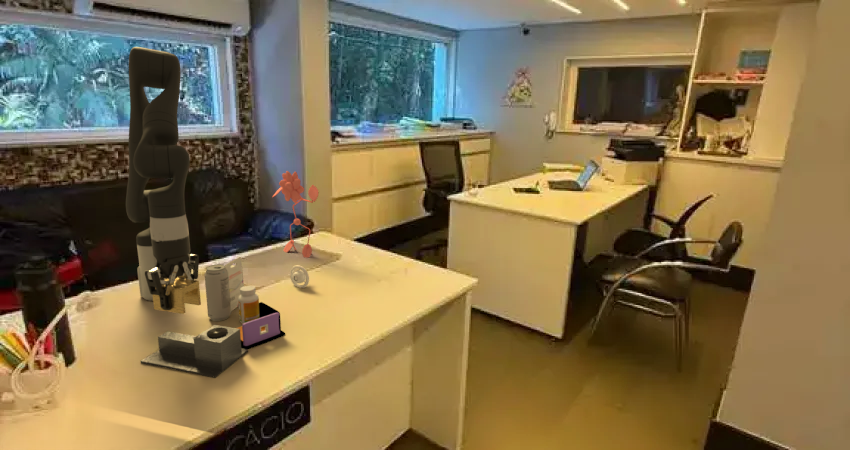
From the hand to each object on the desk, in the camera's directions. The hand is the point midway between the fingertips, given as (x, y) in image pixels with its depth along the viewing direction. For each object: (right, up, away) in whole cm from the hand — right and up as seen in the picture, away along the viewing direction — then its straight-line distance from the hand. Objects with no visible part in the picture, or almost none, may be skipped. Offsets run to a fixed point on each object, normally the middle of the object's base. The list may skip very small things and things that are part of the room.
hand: (177, 303), depth 108 cm
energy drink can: (0, -8, +23) cm, 24 cm away
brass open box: (0, -1, 0) cm, 1 cm away
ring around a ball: (+17, -3, +47) cm, 50 cm away
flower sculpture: (+5, +5, +75) cm, 75 cm away
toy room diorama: (+13, -11, +14) cm, 22 cm away
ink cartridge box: (-1, -6, +30) cm, 31 cm away
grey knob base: (+3, -13, +2) cm, 14 cm away
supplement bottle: (+9, -9, +22) cm, 25 cm away
